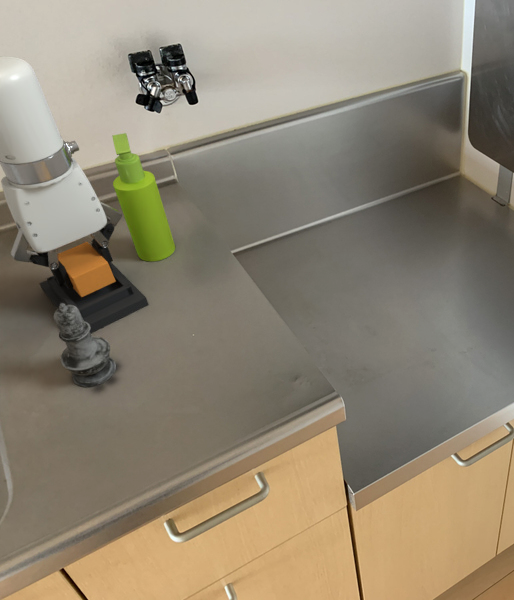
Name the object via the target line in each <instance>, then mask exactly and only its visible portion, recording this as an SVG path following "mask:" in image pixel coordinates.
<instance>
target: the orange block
mask: <svg viewBox="0 0 514 600" xmlns="http://www.w3.org/2000/svg"><path fill="white" fill-rule="evenodd" d="M58 260H59V261H60V262H61V263H62V265H63V266H64V267H65V269H66V271H67V274H68V276H69V278H70V280H71V282H72V284H73V286H74V287H73V288H74V289H75V291H76V292H77V293H78V294H79V295H80V296H81V297H84V296H86V295H88V294H90V293H92V292H94V291H96V290H99V289H101V288H103V287H105V286H107V285H109V284H111V283H114V282H116V281H115V278H114V276H113V274H112V271H111V269H110V266H109V264H108V262H107V261H106V260H105V259H104V258H103V257H102V256H101V255H100V254H99V253H98V252H97V251H96V250H95V249H94V248H93V247H92V245H91V243H90V242H88V241H85V242H82V243H81V244H79V245H76V246H73V247H71V248H68V249H66V250H64V251H61V252H60V253H59V252H58Z"/></svg>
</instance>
